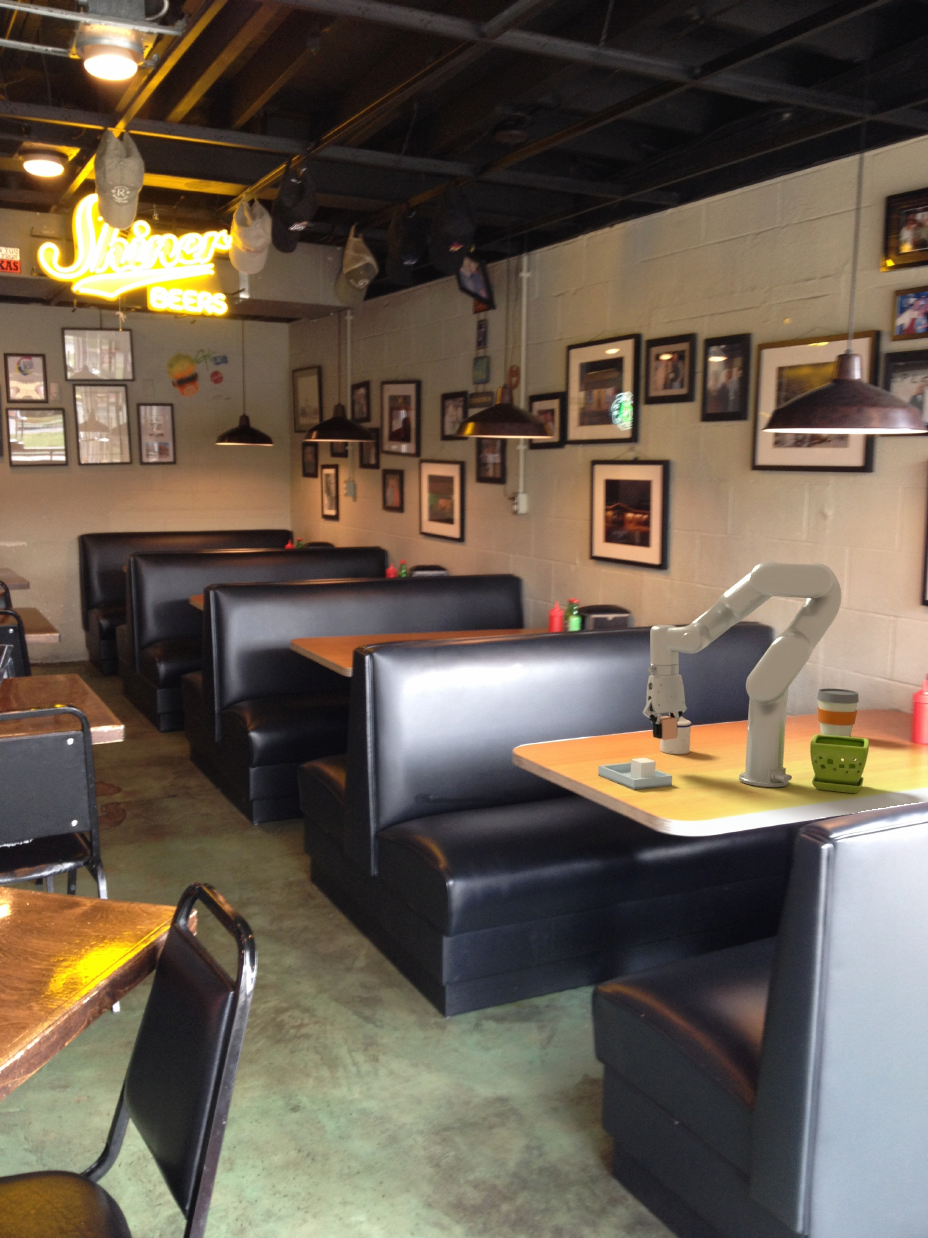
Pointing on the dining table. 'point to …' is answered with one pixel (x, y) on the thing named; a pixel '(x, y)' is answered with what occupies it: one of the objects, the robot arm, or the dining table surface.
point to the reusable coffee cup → (837, 711)
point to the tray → (622, 776)
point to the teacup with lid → (678, 739)
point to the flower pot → (838, 762)
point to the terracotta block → (668, 727)
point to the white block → (642, 768)
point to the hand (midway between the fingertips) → (665, 736)
